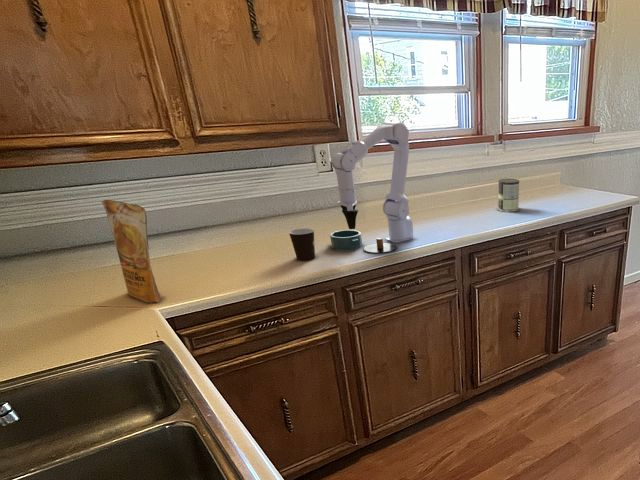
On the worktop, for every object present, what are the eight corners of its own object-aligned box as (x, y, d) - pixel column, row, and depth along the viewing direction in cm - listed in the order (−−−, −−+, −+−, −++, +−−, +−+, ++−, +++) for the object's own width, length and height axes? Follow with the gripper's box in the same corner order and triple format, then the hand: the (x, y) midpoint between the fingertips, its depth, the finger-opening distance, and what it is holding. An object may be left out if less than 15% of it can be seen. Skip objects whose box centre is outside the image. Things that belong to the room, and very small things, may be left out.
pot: (350, 240, 212) (348, 227, 210) (371, 249, 201) (369, 235, 198) (324, 245, 206) (322, 231, 203) (343, 255, 194) (341, 241, 192)
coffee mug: (311, 262, 187) (306, 235, 182) (289, 261, 188) (284, 233, 183) (325, 253, 197) (321, 226, 192) (305, 251, 198) (300, 225, 193)
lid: (386, 243, 207) (385, 232, 205) (403, 250, 199) (402, 239, 197) (358, 249, 200) (356, 238, 198) (374, 257, 192) (372, 245, 190)
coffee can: (494, 210, 259) (494, 180, 253) (505, 206, 267) (505, 177, 260) (511, 212, 254) (512, 182, 247) (522, 208, 262) (523, 179, 255)
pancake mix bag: (143, 287, 165) (113, 197, 152) (175, 299, 156) (146, 204, 143) (120, 293, 160) (87, 201, 147) (152, 306, 151) (120, 209, 138)
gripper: (334, 185, 192) (339, 222, 198) (336, 193, 180) (341, 232, 186) (353, 184, 194) (357, 221, 200) (356, 192, 181) (361, 230, 188)
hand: (351, 226), depth 193 cm, fingers open, 7 cm apart
